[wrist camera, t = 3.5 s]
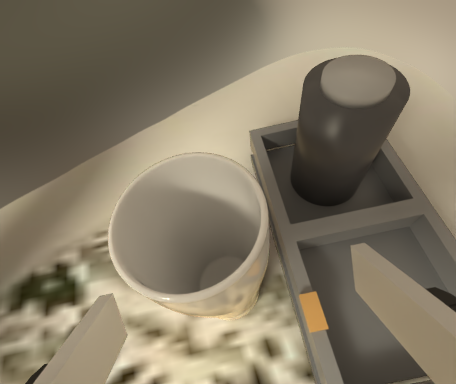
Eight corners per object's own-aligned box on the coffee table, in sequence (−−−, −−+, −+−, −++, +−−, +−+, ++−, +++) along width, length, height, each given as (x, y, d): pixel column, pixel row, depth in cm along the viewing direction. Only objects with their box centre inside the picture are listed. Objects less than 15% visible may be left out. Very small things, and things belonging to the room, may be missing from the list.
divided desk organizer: (324, 417, 18) (416, 524, 7) (249, 152, 31) (239, 45, 20) (511, 379, 18) (902, 430, 7) (356, 128, 31) (405, 8, 20)
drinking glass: (269, 253, 24) (273, 149, 12) (266, 335, 21) (267, 316, 8) (199, 248, 25) (132, 148, 13) (186, 325, 22) (76, 294, 9)
